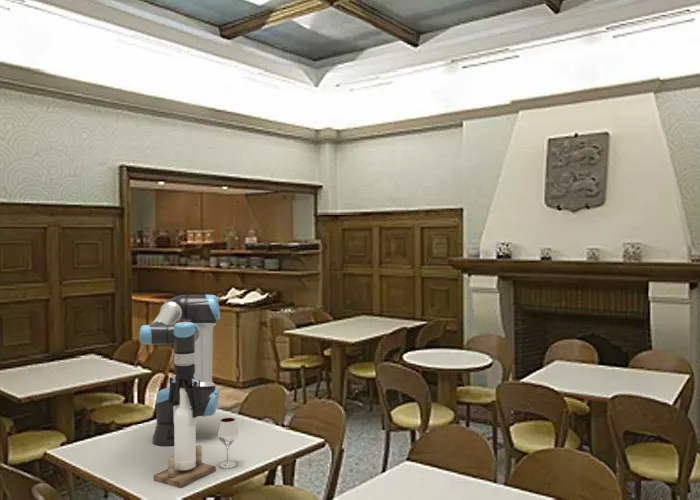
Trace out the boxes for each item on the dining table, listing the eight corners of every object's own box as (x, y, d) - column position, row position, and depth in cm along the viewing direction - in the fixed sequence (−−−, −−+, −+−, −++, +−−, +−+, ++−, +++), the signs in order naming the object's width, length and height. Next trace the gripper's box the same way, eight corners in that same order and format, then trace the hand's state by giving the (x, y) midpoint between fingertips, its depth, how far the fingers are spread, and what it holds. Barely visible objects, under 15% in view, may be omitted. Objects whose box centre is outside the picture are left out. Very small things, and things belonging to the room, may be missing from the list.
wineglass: (218, 461, 239) (218, 417, 238) (239, 461, 239) (239, 416, 239) (216, 469, 230) (215, 423, 230) (237, 468, 231) (237, 422, 231)
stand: (153, 480, 220) (153, 456, 220) (189, 464, 236) (188, 441, 236) (181, 488, 213) (181, 463, 213) (215, 471, 229) (215, 447, 229)
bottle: (199, 467, 223) (198, 388, 223) (178, 472, 219) (177, 391, 218) (191, 461, 230) (191, 383, 229) (171, 465, 225) (170, 386, 225)
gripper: (157, 362, 226) (158, 422, 226) (197, 368, 215) (198, 431, 216) (172, 359, 232) (172, 417, 232) (212, 364, 222) (212, 425, 222)
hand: (185, 424), depth 224 cm, fingers closed on bottle, 8 cm apart
